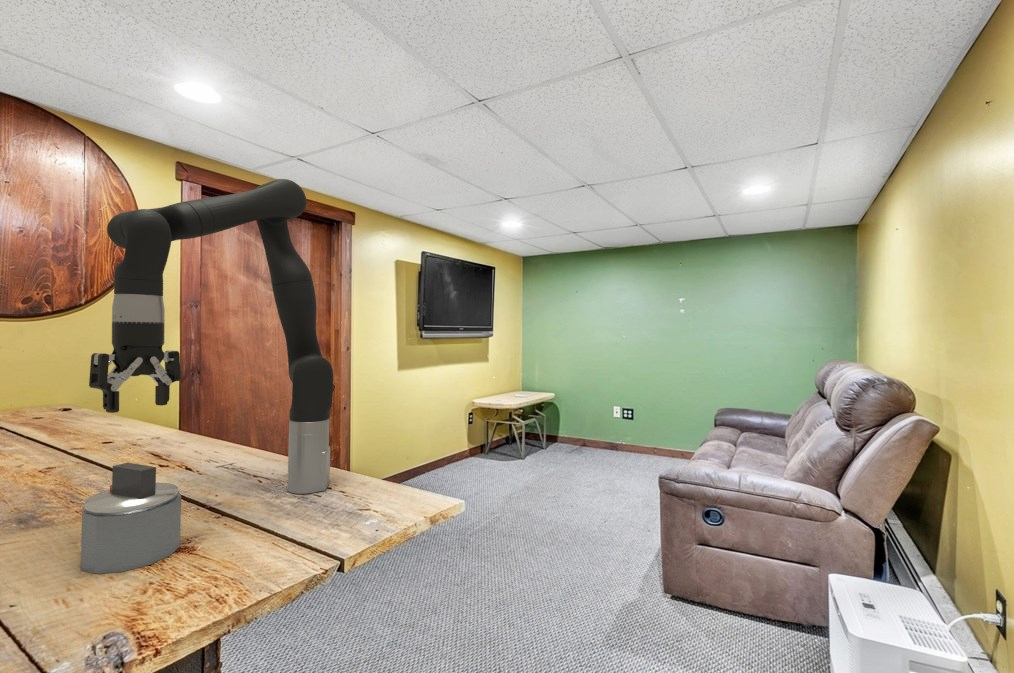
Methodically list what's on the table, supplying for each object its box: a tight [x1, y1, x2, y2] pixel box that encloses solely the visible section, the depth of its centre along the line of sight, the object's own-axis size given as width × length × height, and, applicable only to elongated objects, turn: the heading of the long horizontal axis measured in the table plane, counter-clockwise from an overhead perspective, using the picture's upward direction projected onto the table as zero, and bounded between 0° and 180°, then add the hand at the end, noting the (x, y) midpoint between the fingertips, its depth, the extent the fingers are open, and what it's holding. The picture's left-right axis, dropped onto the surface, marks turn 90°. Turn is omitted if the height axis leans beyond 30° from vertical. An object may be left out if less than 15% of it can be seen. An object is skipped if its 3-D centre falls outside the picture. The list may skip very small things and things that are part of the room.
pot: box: [80, 490, 182, 575], centre depth 79 cm, size 13×13×9 cm
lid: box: [84, 462, 179, 516], centre depth 79 cm, size 12×12×6 cm
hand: (138, 408), depth 84 cm, fingers open, 8 cm apart
